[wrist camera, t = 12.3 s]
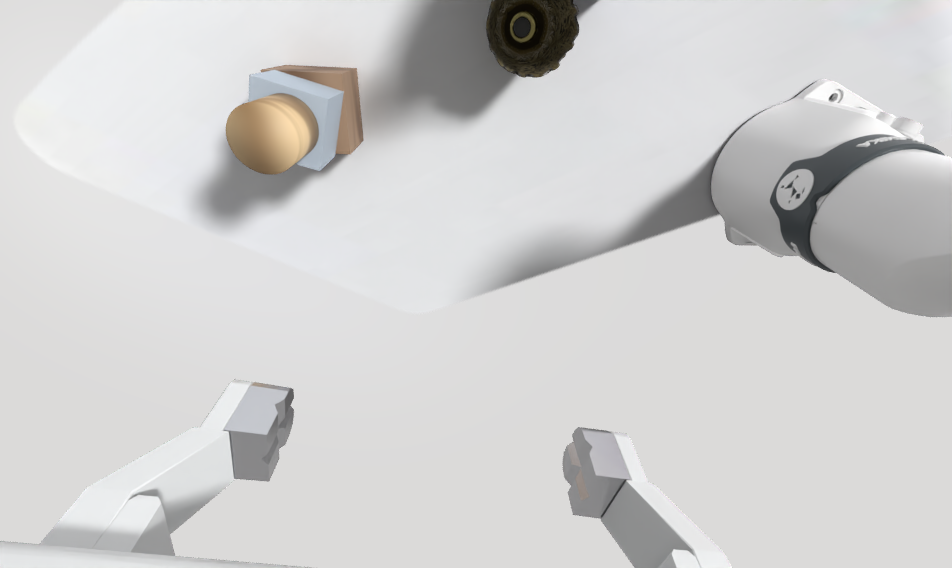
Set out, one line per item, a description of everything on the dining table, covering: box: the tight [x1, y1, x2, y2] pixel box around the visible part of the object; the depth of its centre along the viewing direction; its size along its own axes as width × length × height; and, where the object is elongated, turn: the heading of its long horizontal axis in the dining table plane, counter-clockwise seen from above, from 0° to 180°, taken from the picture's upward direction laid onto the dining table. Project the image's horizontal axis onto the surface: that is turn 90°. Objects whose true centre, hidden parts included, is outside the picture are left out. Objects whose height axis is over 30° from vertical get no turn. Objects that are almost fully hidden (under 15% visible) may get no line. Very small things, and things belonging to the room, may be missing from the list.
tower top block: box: [249, 70, 344, 171], centre depth 37 cm, size 6×6×5 cm
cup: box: [486, 0, 579, 77], centre depth 37 cm, size 8×7×8 cm
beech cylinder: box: [226, 93, 319, 174], centre depth 32 cm, size 5×5×5 cm
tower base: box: [261, 65, 363, 154], centre depth 41 cm, size 7×7×6 cm
